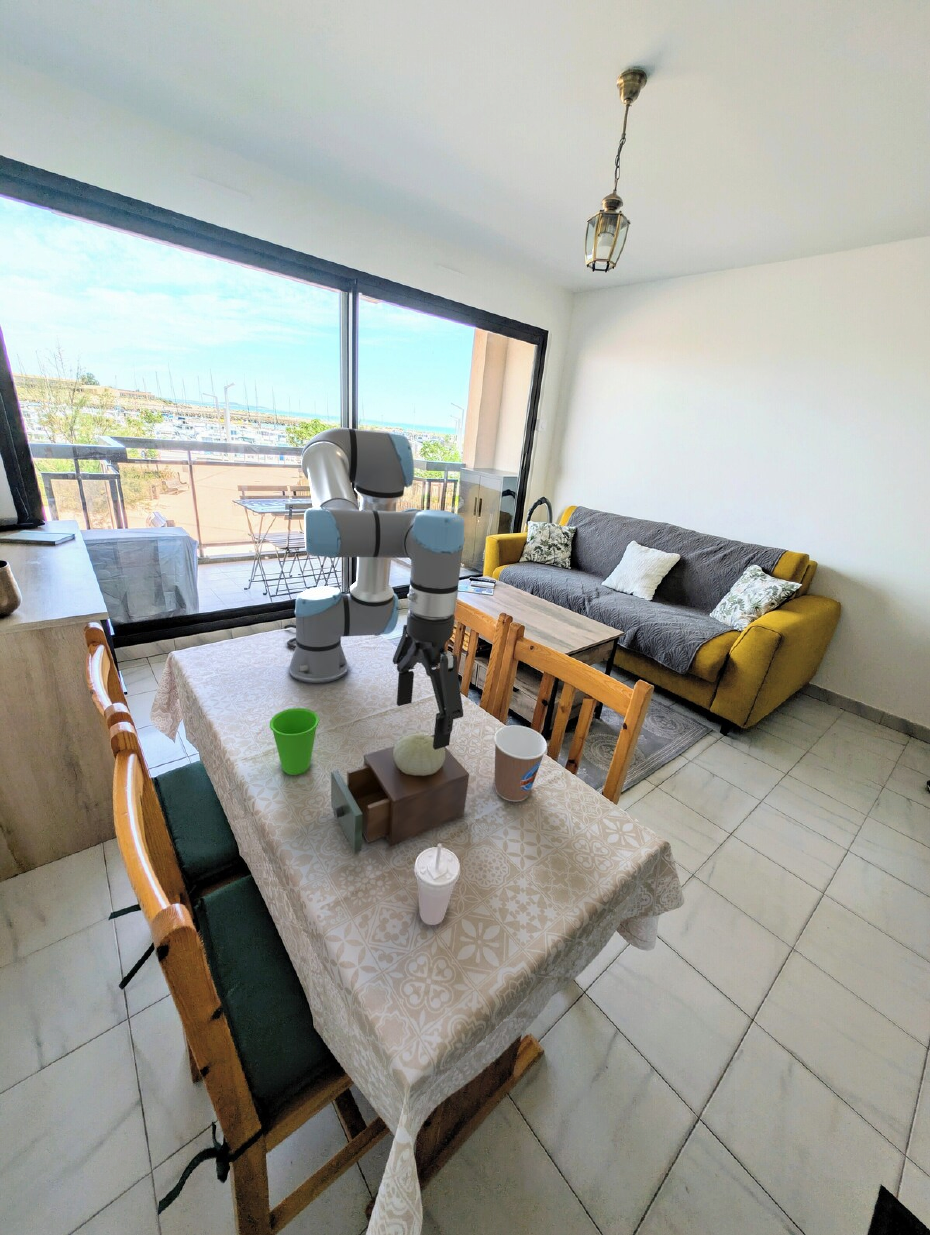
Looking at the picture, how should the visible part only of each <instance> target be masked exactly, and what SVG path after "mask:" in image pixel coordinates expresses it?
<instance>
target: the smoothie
mask: <svg viewBox="0 0 930 1235" xmlns="http://www.w3.org/2000/svg"><path fill="white" fill-rule="evenodd" d="M460 873H461V864H460V860H459V858H458V857H457V855H456V854H455V853H454V852H452V851H451V850H449V849H448V848H446V847H443V844H442V843H438V844H437V846H433V847H429V848H426V849H425V850H423V851H421V852H420V853H419V854H418V856H417V857H416V859H415V864H414V876H415V878H416V881H417V894H418V896H417V897H418V909H419V917H420V919H421V920H422V922H423V923H425V924H426V925H428V926H429V925H430V926H436V925H439V924H441V922H442V921H443V920H444V918H445V915H446V912H447V909H448V906H449V903H450V899H451V897H452V893H453V890H454V887H455V884H456V883H457V882H458V880H459V878H460Z"/></svg>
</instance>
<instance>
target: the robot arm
mask: <svg viewBox="0 0 930 1235" xmlns="http://www.w3.org/2000/svg"><path fill="white" fill-rule="evenodd" d="M300 465H301V466H300V467H301V470H302V473H303V475H304V477H305V478H306V480H308V482H309V488H310V495H311V501H312V507H309V508H307V509H306V510H305V512H304V514H303V523H304V524H303V533H304V534H303V535H304V548H305V549H304V550H305V552H306V553H307V554H308V555H309V556H312V557H324V558H329V559H335V558H357V563H356V579H355V580H356V581H355V582H354V583H353V584H351V585H350V588H349V589H350V590H349V593H343V592H342V591H341V589H339V588H338V587H334V586H332V587H331V586H326V585H325V586H316V587H312V588H308V589H305V590H303V591H302V592H300V593H299V594H298V595H297V597H296V598H295V607H294V608H295V609H294V615H295V624H291V623H289V624H288V623H287V624H286V625H284V626H283V629H284V630H285V629H288V628H293V629H295V637H293V638H291V639H288V640H287V642H286V646H287V647H288V648H292V649H294V652H293V654H292V657H291V659H290V664H289V673H290V675H291V676H292V678H294V679H295V680H297V681H300V682H303V683H307V684H326V683H330V682H334V681H337V680H339V679H341V678H342V677H344V676H345V675H346V674H347V672H348V662H347V658H346V655H345V652H344V650H343V647H342V637H343V638H345V637H365V636H376V637H378V636H381V635H390V634H391V633H392V632H394V630H395V629H396V627H397V624H398V621H399V617H400V616H399V614H400V611H399V608H400V601H399V597H398V595H397V593H395V591H394V589H393V587H392V586H391V585H390V577H391V567H392V559H394V558H395V559H410V576H409V591H408V594H407V600H408V609H409V610H407V616H406V624H404V625H403V626H402V634H401V637H400V640H399V642H398V645H397V647H396V649H395V652H394V655H393V657H392V664H393V665H396V670H397V672H398V680H397V694H396V705H397V707H401V706H406V705H410V704H412V703H413V689H414V677H415V672H414V671H413V670H415V669H416V668H415V666H416V665H417V664H418V663H420V664H421V665H422V666H423V667H424V670H425V673H426V676H428V677H429V678H430V682H431V685H432V689H433V693H434V697H435V701H436V704H437V708H438V712H437V713H435V723H434V730H433V735H434V740H433V748H434V749H435V750H436V749H439V748H443V747H446V748H447V747H449V746H450V744H451V743H450V742H451V734H452V732H453V726H454V720H458V719H461V718H463V717H464V709H463V701H462V695H461V688H460V680H459V674H458V673H459V672H458V655H457V654H456V653H454V654H453V653H452V654H449V653H448V652H447V645H446V644H447V643H448V642H449V640H450V639H452V637H453V635H454V629H455V621H456V615H455V613H456V612H457V605H458V594H459V583H460V574H461V568H462V567H461V566H462V559H463V551H464V550H463V549H464V545H465V542H466V541H465V540H466V539H465V520H464V518H463V516H461V515H460V514H458V513H456V512H455V513H454V512H451V511H447V510H442V509H423V510H422V509H420V508H414V507H411V508H406V509H403V510H402V511H397V503H398V501H399V500H400V499H401V498H403V497H404V495H405V488H410V487H411V486H412V485H413V481H414V477H415V463H414V455H413V449H412V446H411V442H410V441H409V439H408V438H407V436H405V435H404V434H400V433H395V432H390V431H383V430H382V431H381V430H372V429H359V428H349V427H341V426H340V427H332V428H329V429H325V430H322V431H321V432H318V433H317V434H315V435H314V436H312V437H311V439H309V440H308V441H307V442H306V444H305V445H304V446H303V449H302V451H301V455H300ZM352 484H354V489H353V486H352ZM354 491H355V492H354ZM355 493H357V495H359V497H360V504H359V503H358V501H357V498H356V495H355ZM359 505H360V506H359ZM293 642H295V644H292V643H293Z"/></svg>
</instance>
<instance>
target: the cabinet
mask: <svg viewBox="0 0 930 1235" xmlns="http://www.w3.org/2000/svg"><path fill="white" fill-rule="evenodd" d="M429 736H431V737H433V738H434V734H431V735H430V734H429ZM394 746H395V745H393V746H389V747H386V748H383V749H379V750H376V751H373V752H369V753H365V754H363V764H362V766H365V765H368V766H369V768H370V769H371V771H372V773H373V774H374V776H375V777H376V779H377V780H378V782H379V783H380V785H381V787H382V788H383V790H384V791H385V793H386V794H387V796H388V797H389V799H390V801H391V814H390V830H389V834H388V835H385V836H384V837H385V839H386V841H387V842H388V844H389V845H390V846H389V847H393V846H395V845H398V844H399V843H402V842H405V841H407V840H408V839H412V838H415V837H416V836H419V835H421V834H424V833H426V832H429V831H431V830H432V829H436V828H438V827H441V826H442V825H445V824H447V823H450V822H452V821H455V820H458V819H459V818H462V817H464V816H465V809H466V808H465V807H466V802H467V795H468V794H467V793H468V788H469V780H470V773H469V772H468V771H467V769H466V768H465V767H464V766H463V764H461V763H460V762H459V760H458V759H457V758H456V757H455V756H454V755H453V753H451V752H450V751H449V749H448V748H447V746H446V747H444V748H445V760H444V763H443V765H442V767H441V768H440V769H439V770H438V771H437V772H435V773H433V774H431V775H424V776H421V775H415V776H414V775H410V774H406V773H404V772H402V771H401V770H400V769H399V768H398V767H397V765H396V763H395V760H394V758H393V751H394Z"/></svg>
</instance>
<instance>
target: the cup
mask: <svg viewBox="0 0 930 1235" xmlns="http://www.w3.org/2000/svg"><path fill="white" fill-rule="evenodd" d="M319 723H320V717H319V715H318V714H317V712H315V711H314V710H311V709H308V708H303V707H295V708H288V709H285V710H282V711H280V712H278V713H276V714H275V715H273V717H272V718H271V719H270V721H269V728H270V730H271V731H272V734H273V738H274V742H275V746H276V748H277V753H278V757H279V760H280V765H281V768H282V771H283V772H284V773H286V774H287V775H290V776H298V775H302V774H304V773H306V772H307V770H308V769H309V767H310V765H311V761H312V754H313V749H314V744H315V738H316V732H317V727H318V726H319Z"/></svg>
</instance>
